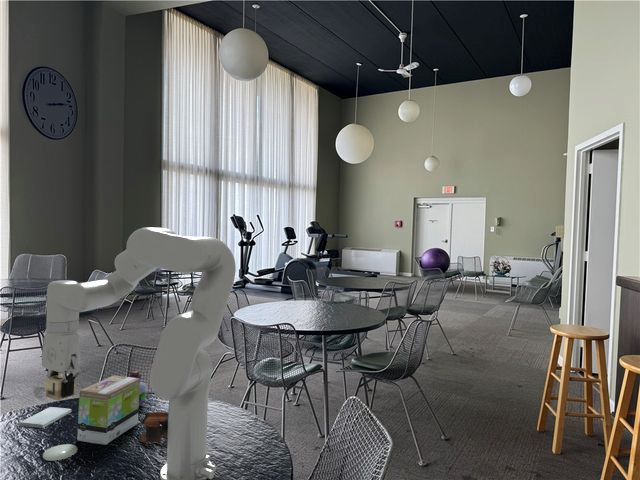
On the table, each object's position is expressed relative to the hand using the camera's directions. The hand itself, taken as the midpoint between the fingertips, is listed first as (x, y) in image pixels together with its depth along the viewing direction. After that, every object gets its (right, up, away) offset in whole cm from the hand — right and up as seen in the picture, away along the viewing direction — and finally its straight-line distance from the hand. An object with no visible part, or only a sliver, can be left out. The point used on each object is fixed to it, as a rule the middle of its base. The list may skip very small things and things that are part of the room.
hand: (60, 393), depth 120 cm
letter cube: (0, -1, 0) cm, 1 cm away
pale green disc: (0, -16, 0) cm, 16 cm away
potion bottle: (+6, -16, +33) cm, 37 cm away
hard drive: (-17, -16, +21) cm, 32 cm away
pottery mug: (+22, -17, +12) cm, 30 cm away
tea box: (+7, -17, +14) cm, 22 cm away
